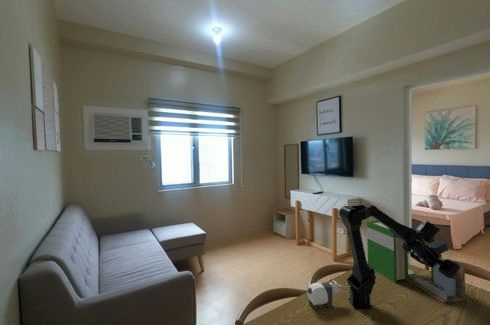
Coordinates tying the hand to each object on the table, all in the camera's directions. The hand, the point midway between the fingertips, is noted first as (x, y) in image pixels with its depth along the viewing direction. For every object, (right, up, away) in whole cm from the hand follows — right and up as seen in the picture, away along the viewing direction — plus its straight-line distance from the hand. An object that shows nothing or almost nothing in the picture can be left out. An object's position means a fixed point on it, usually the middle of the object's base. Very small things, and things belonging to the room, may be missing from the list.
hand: (446, 273), depth 101 cm
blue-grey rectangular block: (-1, -8, 0) cm, 8 cm away
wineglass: (-3, -9, +21) cm, 23 cm away
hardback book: (-13, -9, +20) cm, 26 cm away
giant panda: (-52, -12, -3) cm, 53 cm away
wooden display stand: (-1, -9, +3) cm, 10 cm away
